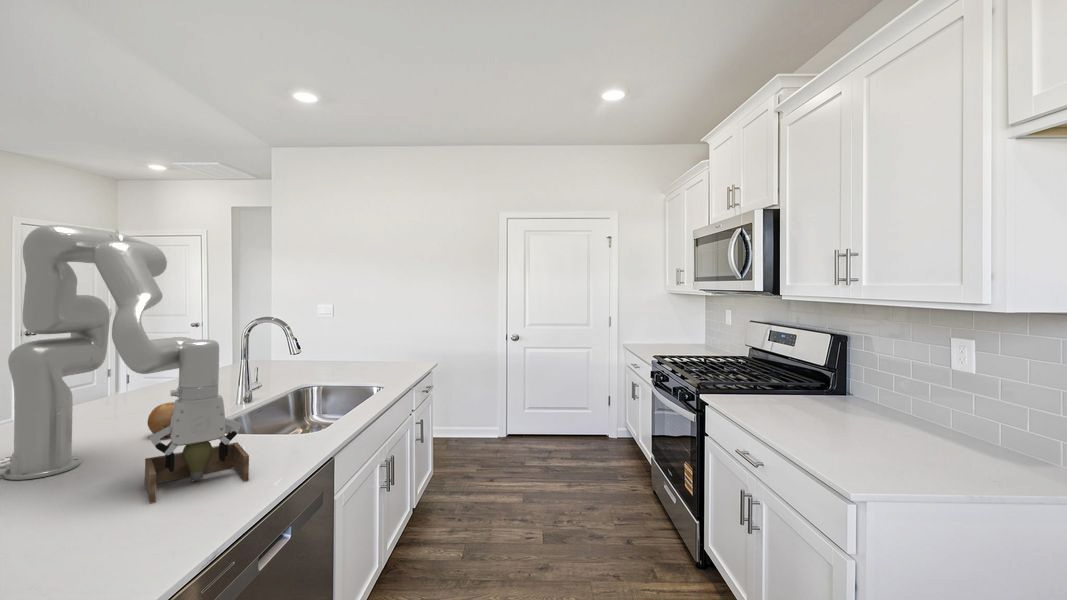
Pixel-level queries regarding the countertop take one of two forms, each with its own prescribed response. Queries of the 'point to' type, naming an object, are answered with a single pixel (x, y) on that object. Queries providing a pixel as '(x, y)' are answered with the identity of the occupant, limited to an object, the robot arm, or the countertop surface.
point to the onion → (160, 417)
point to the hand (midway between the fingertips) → (197, 464)
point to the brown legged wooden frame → (159, 473)
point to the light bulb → (197, 458)
